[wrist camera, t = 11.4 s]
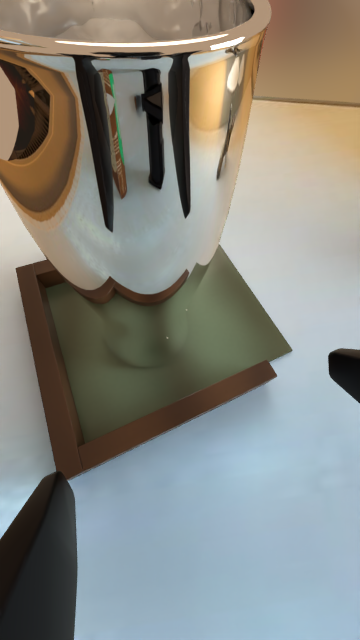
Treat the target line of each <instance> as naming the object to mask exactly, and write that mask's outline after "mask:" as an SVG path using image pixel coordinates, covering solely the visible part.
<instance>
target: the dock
mask: <svg viewBox="0 0 360 640" xmlns="http://www.w3.org/2000/svg"><path fill="white" fill-rule="evenodd" d="M16 273H17V278H18V282H19V287H20V292H21V297H22V302H23V307H24V312H25V317H26V322H27V327H28V332H29V337H30V342H31V347H32V352H33V357H34V362H35V367H36V372H37V377H38V382H39V387H40V392H41V397H42V402H43V407H44V412H45V417H46V422H47V427H48V432H49V437H50V442H51V447H52V452H53V457H54V462H55V467H56V472H57V471H61V472H62V473H63V474H64V476H65V478H66V479H67V481H68V480H71V479H73V478H75V477H77V476H79V475H81V474H83V473H85V472H87V471H89V470H91V469H93V468H96V467H98V466H100V465H102V464H104V463H106V462H108V461H110V460H112V459H114V458H116V457H118V456H120V455H122V454H124V453H126V452H128V451H130V450H132V449H134V448H136V447H138V446H140V445H142V444H144V443H146V442H148V441H150V440H152V439H154V438H156V437H158V436H160V435H162V434H164V433H166V432H168V431H171V430H173V429H175V428H177V427H179V426H181V425H183V424H185V423H187V422H189V421H191V420H193V419H195V418H197V417H199V416H201V415H203V414H205V413H207V412H209V411H211V410H213V409H215V408H217V407H219V406H221V405H223V404H225V403H227V402H229V401H231V400H233V399H235V398H237V397H239V396H241V395H244V394H246V393H248V392H250V391H252V390H254V389H256V388H258V387H260V386H262V385H264V384H266V383H268V382H269V381H271V380H272V379H274V378H275V377H277V374H276V373H275V371H274V370H273V368H272V367H271V365H270V363H269V362H270V361H272V360H274V359H276V358H278V357H280V356H282V355H285V354H287V353H289V352H291V351H292V349H291V347H290V346H289V344H288V343H287V341H286V340H285V339H284V337H283V336H282V334H281V333H280V331H279V330H278V328H277V327H276V326H275V324H274V323H273V321H272V320H271V318H270V317H269V315H268V314H267V313H266V311H265V310H264V308H263V307H262V305H261V304H260V302H259V301H258V300H257V298H256V297H255V295H254V294H253V292H252V291H251V289H250V288H249V287H248V285H247V284H246V282H245V281H244V279H243V278H242V276H241V275H240V274H239V272H238V271H237V269H236V268H235V266H234V265H233V263H232V262H231V261H230V259H229V258H228V256H227V255H226V253H225V252H224V250H223V249H222V248H221V246H220V245H218V247H217V249H216V252H215V254H214V256H213V258H212V261H211V263H210V265H209V267H208V270H207V272H206V274H205V276H204V277H203V279H202V281H201V283H200V285H199V287H198V289H197V290H196V292H195V294H194V296H193V298H192V299H191V301H190V303H189V305H188V307H187V310H186V314H187V318H188V324H189V332H188V337H187V340H186V343H185V345H184V346H183V348H182V349H181V351H180V352H179V353H178V354H177V355H176V356H175V357H174V358H172V359H171V360H170V361H168V362H166V363H164V364H161V365H158V366H154V367H136V366H132V365H129V364H126V363H124V362H122V361H121V360H119V359H118V358H117V357H116V356H114V355H113V353H112V352H111V351H110V350H109V348H108V346H107V344H106V342H105V339H104V334H103V324H102V320H101V318H100V317H99V316H98V315H97V314H96V313H95V312H94V311H93V310H92V309H91V308H90V307H89V306H88V305H87V304H86V303H85V302H84V301H83V300H82V299H81V298H80V297H79V296H78V295H77V294H76V293H75V292H74V290H73V289H72V288H71V287H70V286H69V285H68V284H67V283H66V282H65V280H64V279H63V278H62V277H61V276H60V275H59V273H58V272H57V271H56V270H55V269H54V267H53V266H52V265H51V264H50V263H49V261H48V260H44V261H40V262H36V263H33V264H29V265H25V266H22V267H18V268H16Z"/></svg>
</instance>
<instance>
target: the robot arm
mask: <svg viewBox="0 0 360 640" xmlns="http://www.w3.org/2000/svg"><path fill="white" fill-rule="evenodd" d="M328 361H329V374H330V377H331V378H332V379H333V380H334V381H335V382H336V383H337V384H338V385H339V386H341V387H342V388H343V389H344V390H345V391H346V392H347V393H348V394H350V395H351V396H352V397H353V398H354V399H355V400H356V401H358V402H359V403H360V350H355V349H343V348H340V349H337V350H335V351H332V352H331V353H329V356H328ZM76 592H77V538H76V514H75V497H74V493H73V491H72V489H71V487H70V485H69V483H68V481H67V479H66V478H65V476H64V474H63V473H62V472H61V471H57V472H54V473H52V474H50V475H47V476H46V477H44V478H43V479H42V480H41V482H40V483H39V484H38V486H37V487H36V489H35V490H34V492H33V493H32V495H31V496H30V497H29V499H28V500H27V502H26V503H25V505H24V506H23V507H22V509H21V510H20V512H19V513H18V515H17V516H16V518H15V519H14V520H13V522H12V523H11V525H10V526H9V528H8V529H7V531H6V532H5V533H4V535H3V536H2V538H1V539H0V640H74V629H75V610H76Z"/></svg>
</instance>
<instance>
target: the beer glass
mask: <svg viewBox="0 0 360 640" xmlns="http://www.w3.org/2000/svg"><path fill="white" fill-rule="evenodd" d="M270 19H271V7H270V3H269V2H268V0H0V184H1V186H2V188H3V189H4V191H5V193H6V195H7V196H8V198H9V200H10V201H11V203H12V205H13V207H14V208H15V210H16V212H17V214H18V215H19V217H20V219H21V221H22V222H23V224H24V226H25V227H26V229H27V230H28V232H29V233H30V235H31V236H32V238H33V239H34V241H35V242H36V244H37V245H38V247H39V248H40V250H41V251H42V253H43V254H44V256H45V257H46V259H47V260H48V261H49V263H50V264H51V265H52V266H53V267H54V269H55V270H56V271H57V272H58V273H59V275H60V276H61V277H62V278H63V279H64V280H65V282H66V283H67V284H68V285H69V286H70V287H71V288H72V289H73V290H74V292H75V293H76V294H77V295H78V296H79V297H80V298H81V299H82V300H83V301H84V302H85V303H86V304H87V305H88V306H89V307H90V308H91V309H92V310H93V311H94V312H95V313H96V314H97V315H98V316H99V317H100V318H101V320H102V324H103V334H104V339H105V342H106V344H107V346H108V348H109V350H110V351H111V352H112V353H113V355H114V356H116V357H117V358H118V359H119V360H121V361H122V362H124V363H126V364H129V365H132V366H136V367H154V366H158V365H161V364H164V363H166V362H168V361H170V360H171V359H172V358H174V357H175V356H176V355H177V354H178V353H179V352H180V351H181V349H182V348H183V346H184V345H185V343H186V340H187V337H188V332H189V324H188V318H187V314H186V310H187V307H188V305H189V303H190V301H191V299H192V298H193V296H194V294H195V292H196V290H197V289H198V287H199V285H200V283H201V281H202V279H203V277H204V276H205V274H206V272H207V270H208V267H209V265H210V263H211V261H212V258H213V256H214V254H215V252H216V249H217V247H218V245H219V242H220V238H221V235H222V232H223V229H224V226H225V223H226V220H227V216H228V213H229V210H230V205H231V201H232V197H233V193H234V189H235V185H236V181H237V176H238V172H239V167H240V163H241V158H242V153H243V148H244V143H245V138H246V133H247V127H248V122H249V116H250V111H251V105H252V100H253V94H254V89H255V83H256V78H257V73H258V68H259V63H260V58H261V53H262V49H263V44H264V40H265V35H266V31H267V28H268V25H269V22H270Z"/></svg>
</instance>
